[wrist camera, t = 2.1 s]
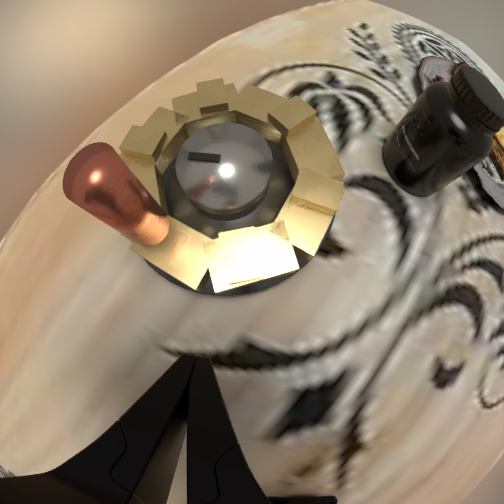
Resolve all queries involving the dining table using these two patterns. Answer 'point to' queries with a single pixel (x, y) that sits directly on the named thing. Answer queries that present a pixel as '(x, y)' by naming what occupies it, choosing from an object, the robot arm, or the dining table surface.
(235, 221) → the flange
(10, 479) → the robot arm
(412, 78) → the dining table surface
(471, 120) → the supplement bottle
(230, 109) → the handwheel
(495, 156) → the food plate
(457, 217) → the dining table surface
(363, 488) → the dining table surface
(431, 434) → the dining table surface
